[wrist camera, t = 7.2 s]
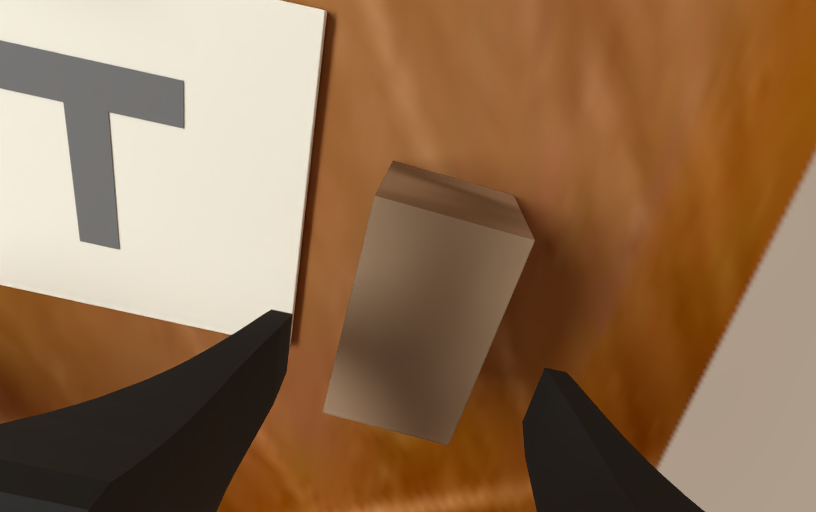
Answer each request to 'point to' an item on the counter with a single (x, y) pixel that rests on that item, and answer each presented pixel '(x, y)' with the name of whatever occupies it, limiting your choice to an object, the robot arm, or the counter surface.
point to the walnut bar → (426, 301)
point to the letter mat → (158, 153)
